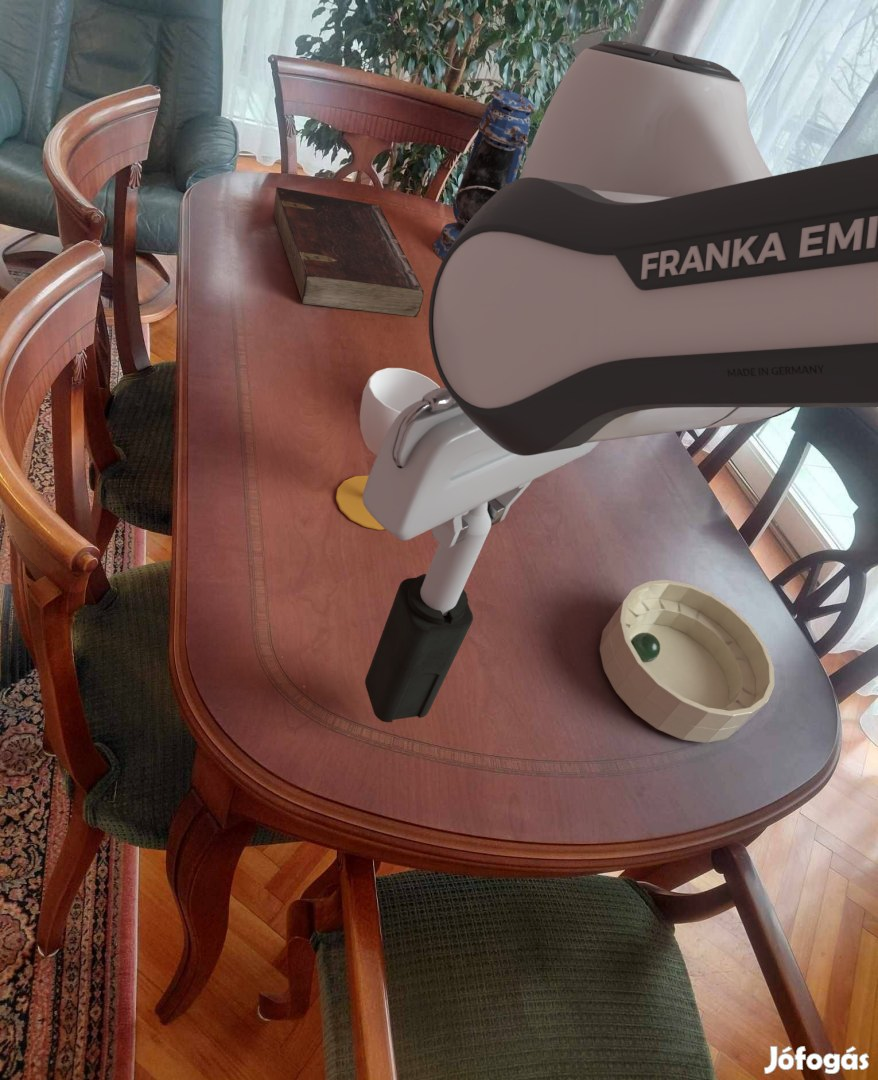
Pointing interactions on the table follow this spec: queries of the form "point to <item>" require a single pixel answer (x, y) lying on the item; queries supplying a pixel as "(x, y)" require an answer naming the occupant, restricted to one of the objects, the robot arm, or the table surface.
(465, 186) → the lantern
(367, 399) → the cup
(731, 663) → the bowl
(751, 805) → the table surface
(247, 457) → the table surface
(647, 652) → the bead
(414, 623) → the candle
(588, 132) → the robot arm
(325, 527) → the table surface
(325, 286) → the hardback book
